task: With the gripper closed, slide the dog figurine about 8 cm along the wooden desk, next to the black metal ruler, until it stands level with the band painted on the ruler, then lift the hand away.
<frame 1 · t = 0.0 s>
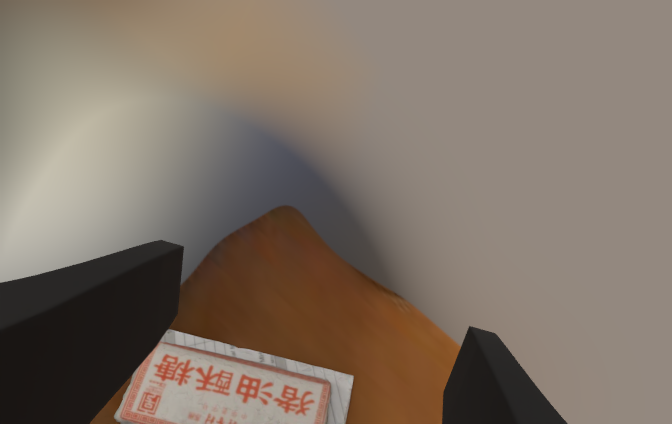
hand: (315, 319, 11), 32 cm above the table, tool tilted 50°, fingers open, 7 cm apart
packaged product: (241, 411, 40), on the table
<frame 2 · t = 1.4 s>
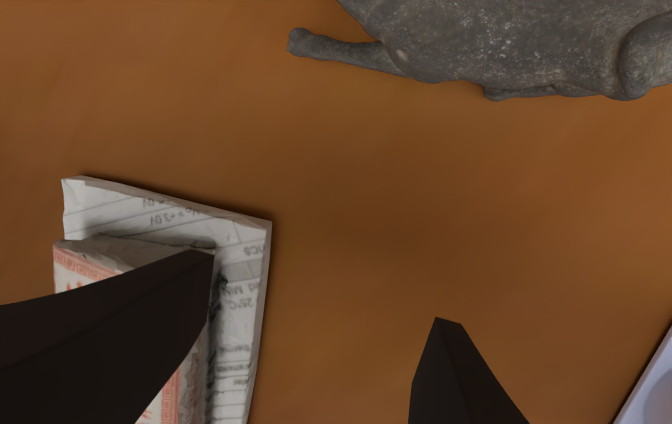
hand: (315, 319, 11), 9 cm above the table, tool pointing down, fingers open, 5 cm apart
packaged product: (172, 344, 25), on the table
dog figurine: (463, 10, 17), on the table
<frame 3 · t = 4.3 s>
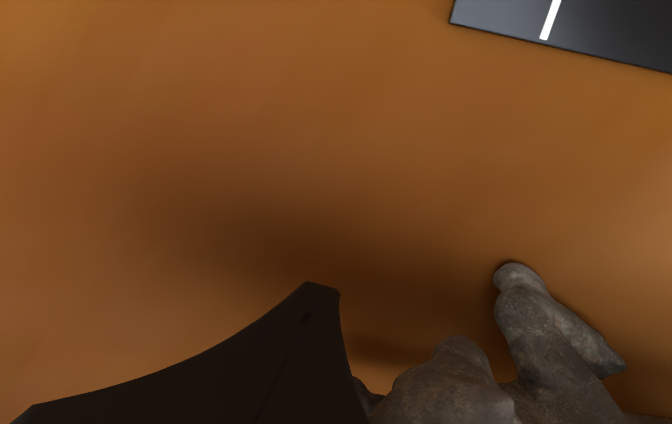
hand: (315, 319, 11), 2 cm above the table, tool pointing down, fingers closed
dog figurine: (565, 344, 13), on the table, touching gripper
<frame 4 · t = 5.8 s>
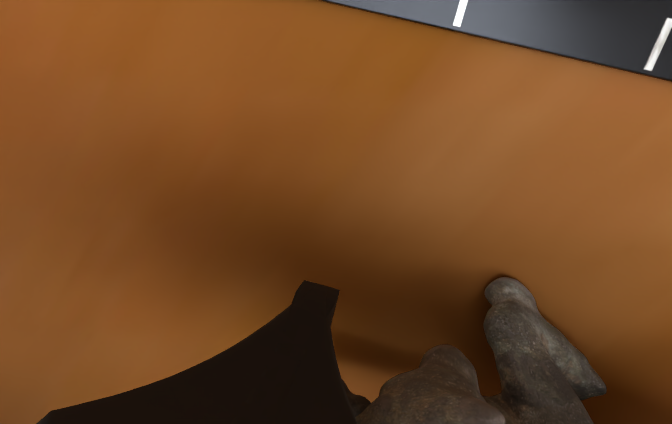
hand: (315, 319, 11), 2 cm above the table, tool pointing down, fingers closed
dog figurine: (547, 362, 13), on the table, touching gripper
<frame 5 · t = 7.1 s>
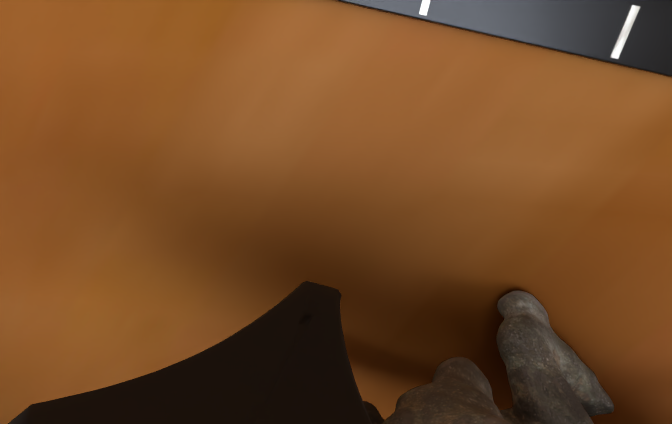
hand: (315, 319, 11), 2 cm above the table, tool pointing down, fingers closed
dog figurine: (553, 376, 13), on the table, touching gripper
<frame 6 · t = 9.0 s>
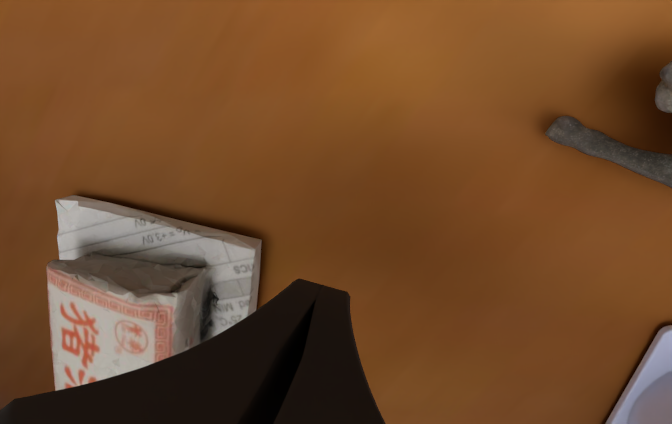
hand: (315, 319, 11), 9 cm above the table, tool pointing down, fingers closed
packaged product: (166, 358, 25), on the table
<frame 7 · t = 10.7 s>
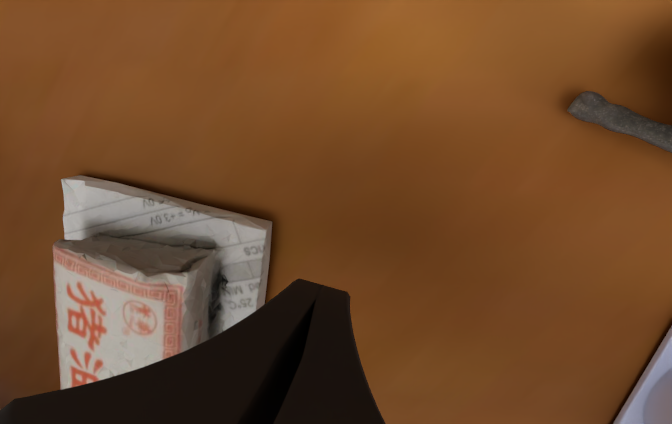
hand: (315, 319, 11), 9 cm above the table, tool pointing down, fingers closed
packaged product: (172, 344, 25), on the table
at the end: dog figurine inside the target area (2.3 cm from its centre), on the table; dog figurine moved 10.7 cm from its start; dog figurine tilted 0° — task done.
